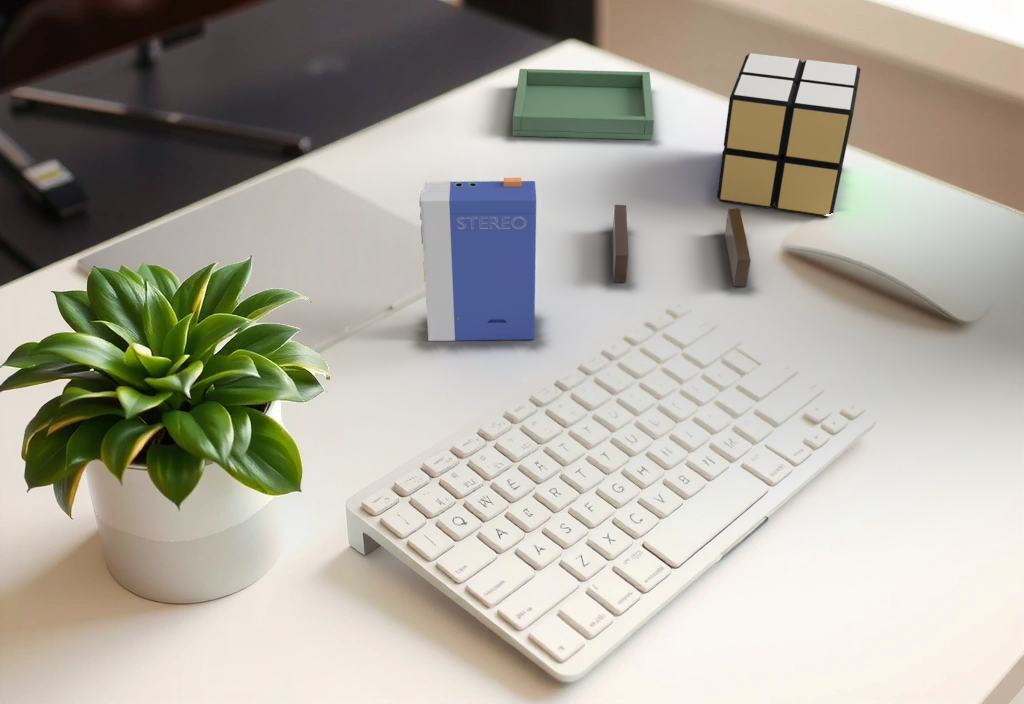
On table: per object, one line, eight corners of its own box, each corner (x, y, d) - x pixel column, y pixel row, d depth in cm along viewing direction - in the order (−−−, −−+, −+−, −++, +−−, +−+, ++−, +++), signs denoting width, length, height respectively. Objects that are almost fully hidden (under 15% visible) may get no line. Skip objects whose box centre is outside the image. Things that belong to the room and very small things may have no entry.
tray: (648, 90, 114) (649, 71, 113) (652, 140, 105) (653, 120, 104) (519, 87, 115) (519, 68, 114) (512, 136, 106) (512, 116, 104)
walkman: (533, 318, 81) (535, 175, 74) (534, 340, 79) (536, 195, 72) (428, 319, 81) (420, 176, 74) (427, 341, 79) (418, 196, 72)
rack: (736, 234, 91) (740, 208, 89) (746, 287, 85) (750, 260, 83) (612, 230, 92) (614, 204, 90) (613, 282, 85) (615, 255, 84)
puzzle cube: (732, 152, 103) (746, 51, 97) (840, 167, 100) (861, 64, 94) (715, 202, 95) (729, 95, 89) (831, 219, 93) (854, 111, 87)
